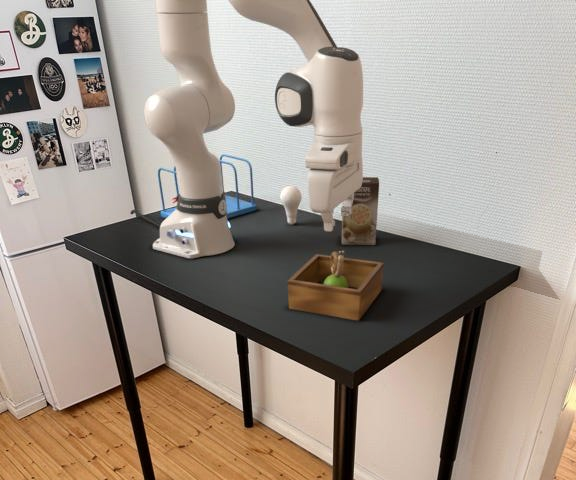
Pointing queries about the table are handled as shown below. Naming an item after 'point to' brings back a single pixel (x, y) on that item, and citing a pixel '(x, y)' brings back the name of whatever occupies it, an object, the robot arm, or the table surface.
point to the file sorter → (233, 204)
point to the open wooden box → (335, 287)
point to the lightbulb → (291, 202)
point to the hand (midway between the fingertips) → (338, 222)
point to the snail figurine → (336, 271)
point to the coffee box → (362, 215)
